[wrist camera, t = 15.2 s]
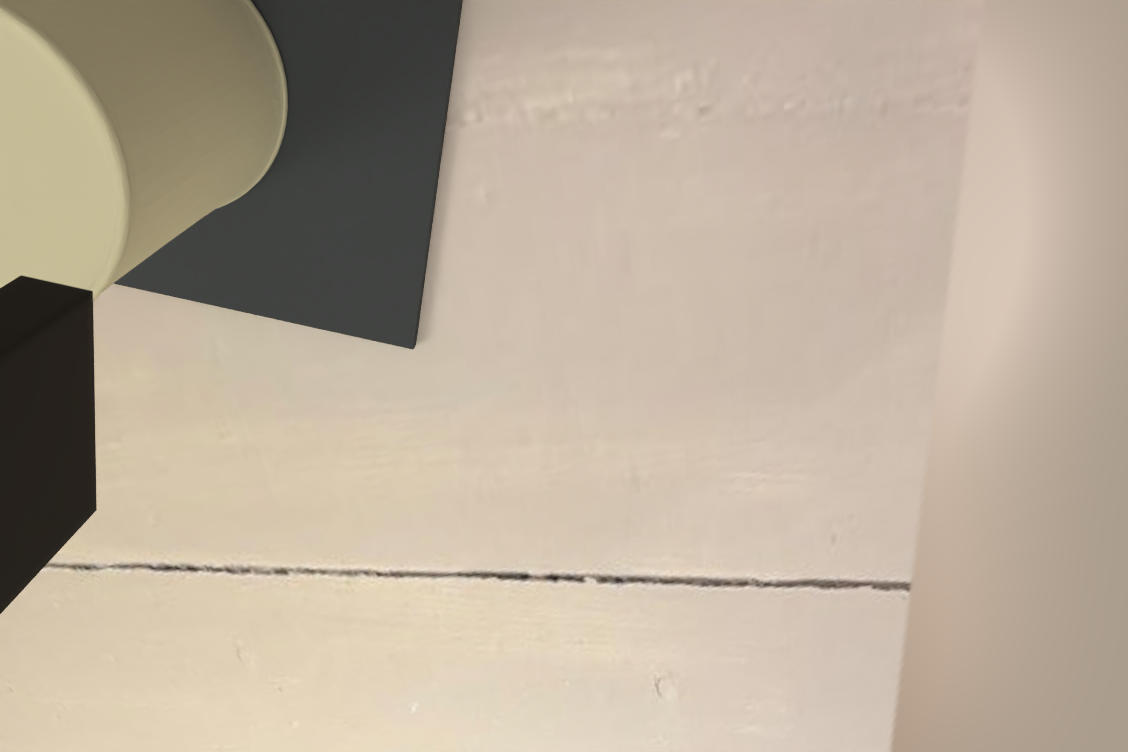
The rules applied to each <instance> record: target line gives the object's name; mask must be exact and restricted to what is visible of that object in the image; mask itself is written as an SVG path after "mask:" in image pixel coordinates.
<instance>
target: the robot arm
mask: <svg viewBox="0 0 1128 752" xmlns="http://www.w3.org/2000/svg"><path fill="white" fill-rule="evenodd" d="M95 511H96V458H95V397H94V336H93V291H90V290H86V289H81V288H76V287H72V286H67V285H63V284H58V283H54V282H49V281H45V280H40V279H36V278H31V277H27V276H22V275H21V276H19V277H17V278H16V279H14V280H13V281H11V282H9V283H8V284H6V285H5V286H3V287H1V288H0V614H1V613H2V612H3V611H4V609H5V608H6V607H7V606H8V605H9V604H10V603H11V602H12V601H13V600H14V599H15V598H16V596H17V595H18V594H19V593H20V592H21V591H22V590H23V589H24V588H25V587H26V586H27V585H28V583H29V582H30V581H31V580H32V579H33V578H34V577H35V576H36V575H37V574H38V573H39V572H40V570H41V569H42V568H43V567H44V566H45V565H46V564H47V563H48V562H49V561H50V560H51V559H52V558H53V556H54V555H55V554H56V553H57V552H58V551H59V550H60V549H61V548H62V547H63V546H64V545H65V543H66V542H67V541H68V540H69V539H70V538H71V537H72V536H73V535H74V534H75V533H76V532H77V530H78V529H79V528H80V527H81V526H82V525H83V524H84V523H85V522H86V521H87V520H88V519H89V517H90V516H91V515H92V514H93V513H94V512H95Z"/></svg>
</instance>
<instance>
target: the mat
mask: <svg viewBox="0 0 1128 752" xmlns="http://www.w3.org/2000/svg"><path fill="white" fill-rule="evenodd" d="M251 2H252V3H253V4H254V6H255V7H256V9H257V10H258V11H259V13H260V14H261V16H262V17H263V19H264V21H265V22H266V24H267V26H268V28H269V30H270V31H271V33H272V36H273V38H274V40H275V43H276V45H277V47H278V50H279V53H280V56H281V59H282V62H283V67H284V71H285V76H286V82H287V92H288V111H287V121H286V127H285V132H284V136H283V139H282V142H281V145H280V148H279V151H278V153H277V155H276V157H275V159H274V161H273V163H272V164H271V166H270V168H269V169H268V171H267V172H266V173H265V175H264V176H263V177H262V178H261V180H260V181H259V182H258V183H257V184H256V185H255V186H253V187H252V188H251V189H250V190H249V191H248V192H247V193H245V194H244V195H243V196H241V197H240V198H238V199H236V200H235V201H233V202H231V203H229V204H227V205H225V206H222V207H220V208H217V209H215V210H213V211H212V212H210V213H209V214H207V215H206V216H204V217H203V218H201V219H200V220H199V221H197V222H196V223H194V224H193V225H192V226H190V227H189V228H187V229H186V230H185V231H183V232H182V233H180V234H179V235H178V236H176V237H175V238H174V239H172V240H171V241H169V242H168V243H167V244H165V245H164V246H163V247H161V248H160V249H159V250H157V251H156V252H154V253H153V254H152V255H150V256H149V257H148V258H146V259H145V260H144V261H142V262H141V263H140V264H138V265H137V266H136V267H134V268H133V269H132V270H130V271H129V272H128V273H126V274H125V275H124V276H122V277H121V278H120V279H118V280H117V281H116V282H114V284H119V285H123V286H128V287H132V288H137V289H141V290H146V291H150V292H155V293H159V294H164V295H169V296H173V297H178V298H182V299H187V300H191V301H196V302H200V303H205V304H209V305H214V306H219V307H223V308H228V309H232V310H237V311H241V312H246V313H250V314H255V315H259V316H264V317H269V318H273V319H278V320H282V321H287V322H291V323H296V324H300V325H305V326H309V327H314V328H318V329H323V330H328V331H332V332H337V333H341V334H346V335H350V336H355V337H359V338H364V339H368V340H373V341H378V342H382V343H387V344H391V345H396V346H400V347H405V348H409V349H414V347H415V345H416V340H417V332H418V325H419V318H420V310H421V303H422V295H423V288H424V281H425V273H426V266H427V259H428V251H429V244H430V236H431V229H432V222H433V214H434V207H435V200H436V192H437V185H438V177H439V170H440V163H441V155H442V148H443V141H444V133H445V126H446V118H447V111H448V104H449V96H450V89H451V82H452V74H453V67H454V59H455V52H456V45H457V37H458V30H459V23H460V15H461V8H462V0H251Z"/></svg>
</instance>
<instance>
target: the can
mask: <svg viewBox="0 0 1128 752" xmlns="http://www.w3.org/2000/svg"><path fill="white" fill-rule="evenodd" d="M287 111H288V92H287V82H286V76H285V71H284V67H283V62H282V59H281V56H280V53H279V50H278V47H277V45H276V43H275V40H274V38H273V36H272V33H271V31H270V30H269V28H268V26H267V24H266V22H265V21H264V19H263V17H262V16H261V14H260V13H259V11H258V10H257V9H256V7H255V6H254V4H253V3H252V2H251V0H0V288H1V287H3V286H5V285H6V284H8V283H9V282H11V281H13V280H14V279H16V278H17V277H19V276H21V275H22V276H27V277H31V278H36V279H40V280H45V281H49V282H54V283H58V284H63V285H67V286H72V287H76V288H81V289H86V290H90V291H93V301H94V300H95V299H96V298H97V297H98V296H99V295H100V294H101V293H102V292H103V291H104V290H105V289H107V288H108V287H109V286H110V285H112V284H113V283H114V282H116V281H117V280H118V279H120V278H121V277H122V276H124V275H125V274H126V273H128V272H129V271H130V270H132V269H133V268H134V267H136V266H137V265H138V264H140V263H141V262H142V261H144V260H145V259H146V258H148V257H149V256H150V255H152V254H153V253H154V252H156V251H157V250H159V249H160V248H161V247H163V246H164V245H165V244H167V243H168V242H169V241H171V240H172V239H174V238H175V237H176V236H178V235H179V234H180V233H182V232H183V231H185V230H186V229H187V228H189V227H190V226H192V225H193V224H194V223H196V222H197V221H199V220H200V219H201V218H203V217H204V216H206V215H207V214H209V213H210V212H212V211H213V210H215V209H217V208H220V207H222V206H225V205H227V204H229V203H231V202H233V201H235V200H236V199H238V198H240V197H241V196H243V195H244V194H245V193H247V192H248V191H249V190H250V189H251V188H252V187H253V186H255V185H256V184H257V183H258V182H259V181H260V180H261V178H262V177H263V176H264V175H265V173H266V172H267V171H268V169H269V168H270V166H271V164H272V163H273V161H274V159H275V157H276V155H277V153H278V151H279V148H280V145H281V142H282V139H283V136H284V132H285V127H286V121H287Z"/></svg>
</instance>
